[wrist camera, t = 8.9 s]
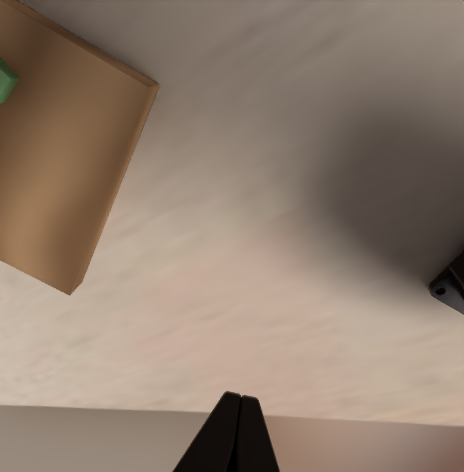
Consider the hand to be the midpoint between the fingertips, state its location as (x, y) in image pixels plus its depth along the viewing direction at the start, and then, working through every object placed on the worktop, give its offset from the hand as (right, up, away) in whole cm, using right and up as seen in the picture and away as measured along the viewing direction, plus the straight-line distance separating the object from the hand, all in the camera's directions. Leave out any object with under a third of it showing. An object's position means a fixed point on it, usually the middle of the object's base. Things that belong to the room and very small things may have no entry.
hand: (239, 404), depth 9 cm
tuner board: (-12, +9, +11) cm, 19 cm away
